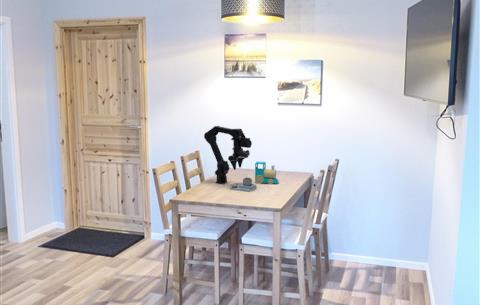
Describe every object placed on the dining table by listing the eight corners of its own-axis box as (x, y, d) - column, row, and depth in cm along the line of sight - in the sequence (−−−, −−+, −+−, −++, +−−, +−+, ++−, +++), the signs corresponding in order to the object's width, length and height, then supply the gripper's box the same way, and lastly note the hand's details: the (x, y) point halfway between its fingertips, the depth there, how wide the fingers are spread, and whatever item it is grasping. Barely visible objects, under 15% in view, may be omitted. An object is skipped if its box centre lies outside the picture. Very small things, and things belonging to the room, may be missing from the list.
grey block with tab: (242, 187, 317) (242, 178, 316) (245, 186, 321) (245, 177, 320) (249, 188, 315) (249, 178, 314) (251, 187, 319) (251, 177, 318)
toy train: (277, 184, 333) (277, 164, 331) (254, 183, 337) (255, 163, 335) (279, 182, 341) (279, 162, 339) (257, 181, 345) (257, 161, 343)
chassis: (230, 189, 317) (230, 184, 317) (236, 186, 327) (236, 181, 327) (250, 191, 311) (250, 187, 311) (256, 188, 321) (256, 183, 321)
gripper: (242, 149, 315) (242, 171, 318) (253, 145, 332) (252, 167, 334) (227, 148, 320) (227, 170, 322) (238, 144, 336) (238, 166, 339)
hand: (237, 168), depth 329 cm, fingers open, 9 cm apart
